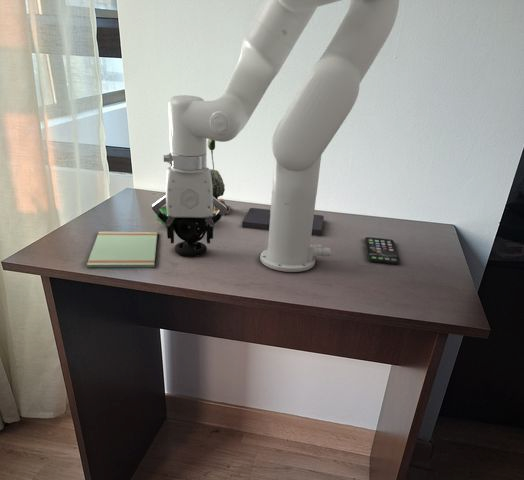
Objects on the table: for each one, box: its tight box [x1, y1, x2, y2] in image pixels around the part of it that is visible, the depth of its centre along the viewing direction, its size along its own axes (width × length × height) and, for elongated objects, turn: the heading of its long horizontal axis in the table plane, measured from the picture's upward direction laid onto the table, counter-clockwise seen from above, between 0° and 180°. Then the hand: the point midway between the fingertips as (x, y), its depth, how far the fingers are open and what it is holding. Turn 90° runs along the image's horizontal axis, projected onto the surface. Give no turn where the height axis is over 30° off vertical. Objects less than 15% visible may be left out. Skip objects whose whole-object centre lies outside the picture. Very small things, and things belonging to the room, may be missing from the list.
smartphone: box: [364, 236, 401, 265], centre depth 120 cm, size 7×1×15 cm
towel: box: [86, 231, 158, 268], centre depth 111 cm, size 14×20×1 cm
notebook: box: [241, 207, 325, 237], centre depth 133 cm, size 13×2×21 cm
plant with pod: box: [207, 139, 231, 215], centre depth 133 cm, size 8×11×20 cm
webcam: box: [173, 217, 208, 258], centre depth 110 cm, size 8×8×10 cm
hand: (190, 240), depth 112 cm, fingers closed on webcam, 7 cm apart
